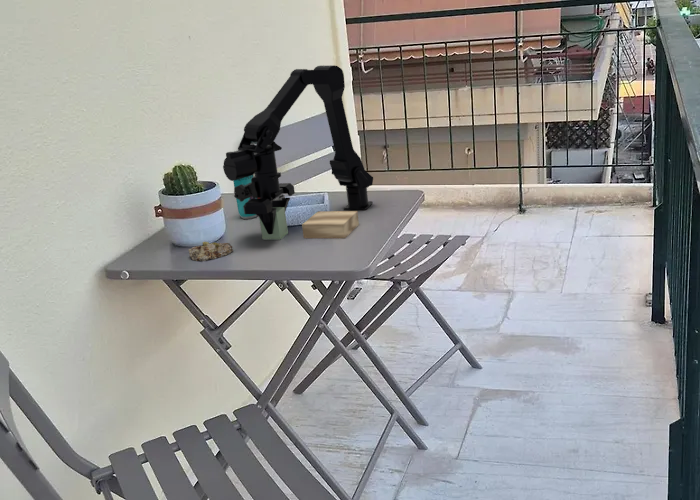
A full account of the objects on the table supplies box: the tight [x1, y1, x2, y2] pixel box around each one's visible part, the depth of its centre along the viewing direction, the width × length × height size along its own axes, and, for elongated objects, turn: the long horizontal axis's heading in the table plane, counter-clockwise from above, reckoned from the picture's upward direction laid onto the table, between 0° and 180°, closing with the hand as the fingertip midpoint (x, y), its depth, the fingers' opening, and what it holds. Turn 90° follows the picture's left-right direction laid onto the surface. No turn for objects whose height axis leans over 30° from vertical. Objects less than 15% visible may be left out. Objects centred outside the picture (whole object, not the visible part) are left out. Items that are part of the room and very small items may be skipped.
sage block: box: [258, 207, 289, 241], centre depth 192 cm, size 5×5×7 cm
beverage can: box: [232, 174, 258, 220], centre depth 211 cm, size 6×6×15 cm
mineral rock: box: [188, 241, 234, 262], centre depth 184 cm, size 11×4×8 cm
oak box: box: [301, 210, 360, 239], centre depth 191 cm, size 11×11×4 cm
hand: (274, 230), depth 193 cm, fingers closed on sage block, 5 cm apart
